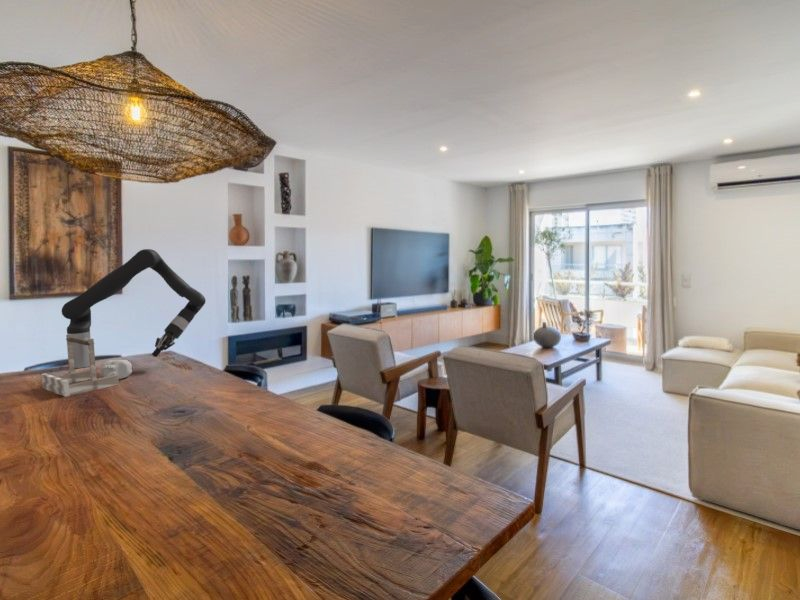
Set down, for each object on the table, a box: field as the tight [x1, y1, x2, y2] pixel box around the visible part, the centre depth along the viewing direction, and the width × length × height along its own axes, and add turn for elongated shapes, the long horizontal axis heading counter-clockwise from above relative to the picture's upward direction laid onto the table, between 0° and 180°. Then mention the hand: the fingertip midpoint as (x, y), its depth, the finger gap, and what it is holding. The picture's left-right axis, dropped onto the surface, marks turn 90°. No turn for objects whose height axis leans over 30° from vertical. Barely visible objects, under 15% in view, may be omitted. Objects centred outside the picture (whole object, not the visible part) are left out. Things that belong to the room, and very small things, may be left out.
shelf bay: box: [41, 334, 120, 398], centre depth 183 cm, size 22×20×21 cm
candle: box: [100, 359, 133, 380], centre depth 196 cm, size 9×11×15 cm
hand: (153, 355), depth 209 cm, fingers closed
